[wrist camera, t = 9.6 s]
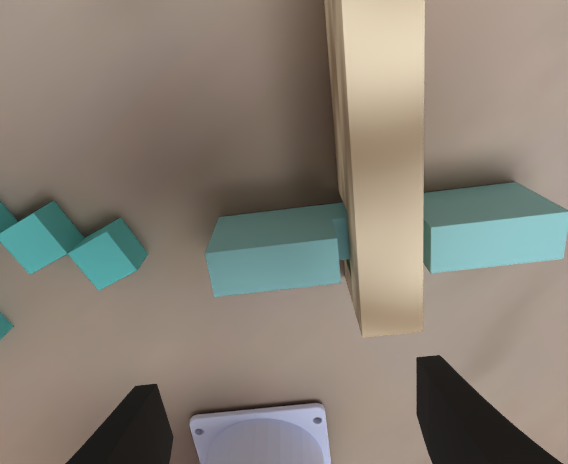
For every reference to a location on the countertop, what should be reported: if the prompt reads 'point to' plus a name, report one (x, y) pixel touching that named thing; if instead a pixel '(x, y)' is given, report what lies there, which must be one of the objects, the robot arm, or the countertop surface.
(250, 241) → the teal long bar
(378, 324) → the beige flat bar
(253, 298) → the countertop surface
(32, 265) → the alien figure
